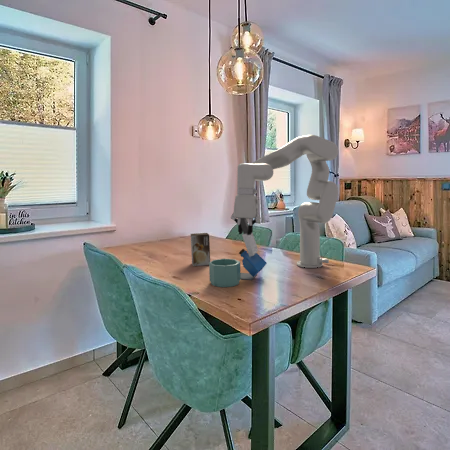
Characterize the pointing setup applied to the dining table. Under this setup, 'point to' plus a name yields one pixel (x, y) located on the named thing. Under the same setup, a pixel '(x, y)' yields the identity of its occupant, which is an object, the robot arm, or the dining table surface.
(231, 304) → the dining table surface
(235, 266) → the utensil pot
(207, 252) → the coffee box
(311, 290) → the dining table surface
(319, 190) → the robot arm
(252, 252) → the brushed metal bar
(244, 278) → the rubber mat
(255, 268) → the perfume bottle
